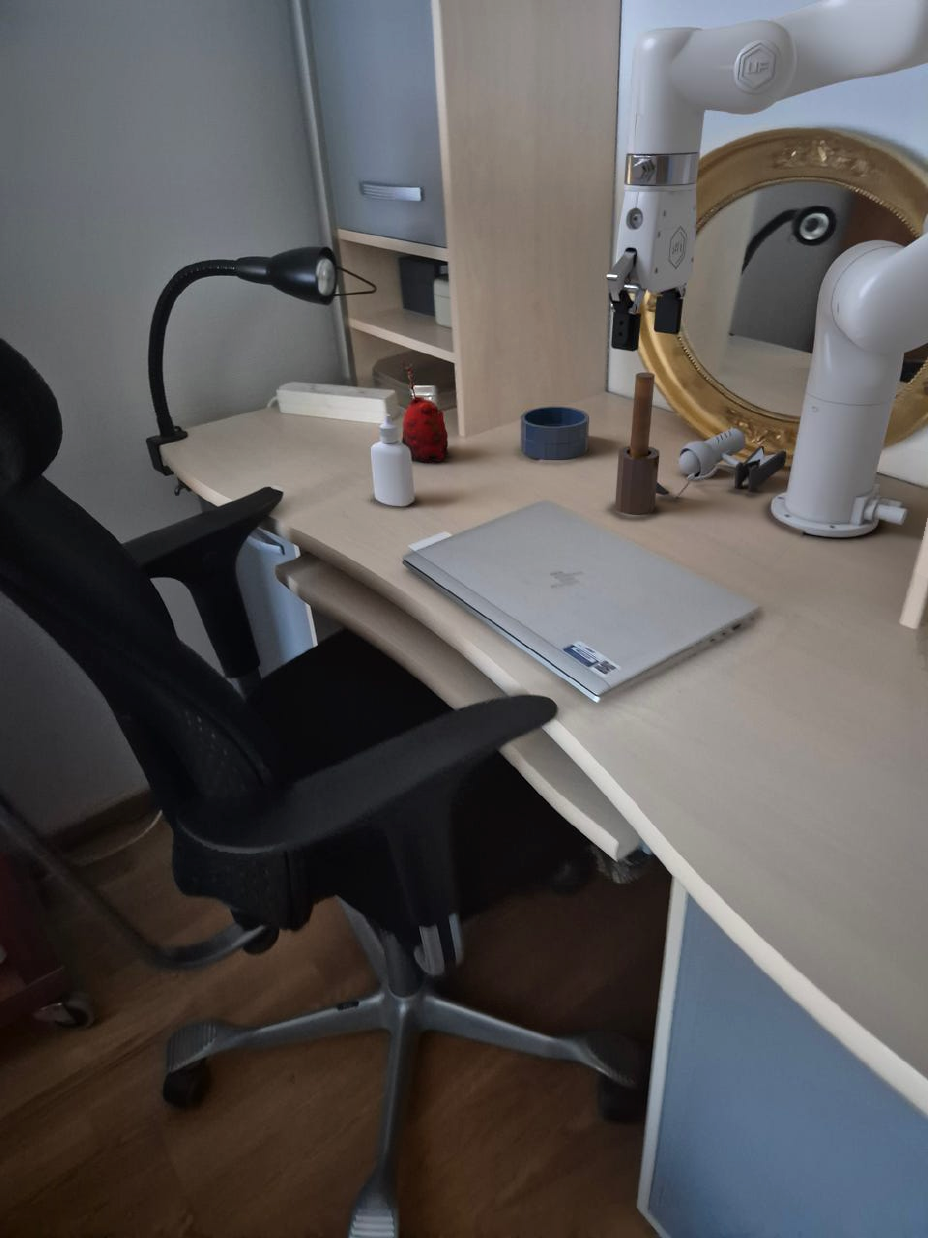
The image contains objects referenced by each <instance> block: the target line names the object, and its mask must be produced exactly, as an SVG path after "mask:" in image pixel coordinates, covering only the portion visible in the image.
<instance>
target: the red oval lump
mask: <svg viewBox="0 0 928 1238" xmlns="http://www.w3.org/2000/svg"><path fill="white" fill-rule="evenodd" d="M401 363H402V365H403V366H404V367H405V368H406V369H402V370H400V373H403V372H407V378H408V380H409V382H410V383H409V389H410V390H411V391H412V394H413V398H412V399H411V400H410V404H409V405H408V407H406V410H405V412H404V416H403V422H402V427H403V428H402V438H401V442H402V443H403V444H405V445H406V446H407V447H408V448H409V449H410V452H411V460H412V461H415V462H421V463H431V462H432V461H435V462H441V461H443V460H444V459H445V457H446V456H447V455H448V454H449V450H448V447H449V441H448V438H449V436H448V435H449V434H448V431H447V429H446V424H445V421H444V419H445V418H444V412H443V411H442V410H440V409H438V406H437V405H436V403H435V402H434V401H432V400H429V399H425V398H424V397H423V396H416V393H415V389H414V388H415V383H414V382H413V381H412V380H413V377H414V376H413V374H412V373H411V368H412V366H413V363H411V364H410V365H409V366H408V365H407V364H406V363H405V361H404V360H401Z"/></svg>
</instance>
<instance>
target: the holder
mask: <svg viewBox="0 0 928 1238" xmlns="http://www.w3.org/2000/svg"><path fill="white" fill-rule="evenodd" d="M630 447H631V445H627V446H623V447H621V448H620V449H618V458H617V470H616V487H615V498H614V499H615V501H614V508H615V509H616V510H617V511H618V512H620V513H623V514H625V515H631V516H641V515H648V514H650V513H652V512H653V511H654V510H655V508H656V497H657V496H656V495H657V493H656V487H657V482H658V476H659V464H660V450H658V449H657V448H655V447H653V446H649V447H648V456H643V457H637V456H631V455H630Z"/></svg>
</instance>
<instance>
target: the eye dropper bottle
mask: <svg viewBox="0 0 928 1238" xmlns="http://www.w3.org/2000/svg"><path fill="white" fill-rule="evenodd" d="M378 429H379V440H380V441H377V442H374V444H373V445H372V446H371V448H370V457H371V469H372V477H373V478H372V479H373V489H374V490H373V491H374V497H375V500H377V501H378V502H380V503H382V504H384V505H387V506H393V507H406V506H409V505H411V504H412V503H414V501H415V488H414V487H415V486H414V475H413V474H414V473H413V462H412V461H413V459H411V452H410V449H409V448H408V447H407V446H406V445H405V444H403V443H402V441H400V437H399V425H398V424H397V423H395V422H393V419H392V416H391V414H389V413H387V414H384V420H383V423H381V424H379V426H378Z"/></svg>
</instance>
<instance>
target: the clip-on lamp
mask: <svg viewBox="0 0 928 1238" xmlns="http://www.w3.org/2000/svg"><path fill="white" fill-rule="evenodd" d="M746 444H747V437H746V435H745V433H744V432H743V431H742V430H740V429H738V428H735V427H732V428H730V429H727V430H725V431H724V432H721V433H720V434H718V435H715V436H713V437H711V438H709V439H707V440H705V441H703V440H702V441H701V440H694V441H690V442H688V443H687V444H685V445H684V446H683V447H682V448H681V450H680V451H679V456H678V457H679V459H678V466H679V469H680V470H681V472H683V474H686V475H688V476H687V477H686V481H688V482H687V483H686V484H685V485H684V487H683V488H682V490H681V491H680V492H678V493H677V494H676V495H674V496H673V498H678V497H679V496H681V494H682V493H683V492H684V491H685V490H686V489H687V487H688V486H689V485H690V483H691V482H693V481H695V482H696V481H701V480H705V479H708V478H710V477H712V476H714V474H715V473H716V472H717V471H718V470H722V471H725V472H727V473H731V474H734V489H736V490H739V489H740V488H741V487H743V484H744V482H745V481H746V480H747V479H748V489H747V492H748V493H753V492H755V491H757V487H758V486H759V485H760V484H762V483H764V482H765V481H766V480H768V479H769V478H770V477H772V476H774V475H775V474H776V473H778V472H779V471H780V470H781V469H783V468H784V467H785V465H786V460H787V451H786V450H780V451H779V452H777V453H774V454H769V455H766V454H765V446H763V445H759V446H758V447H757V448H756V449H755V450H754V451H753V452H752V453H751V455H749V456H748V458H747V459H746V460H745V461H744V462H742V461H740V460H737V459H736V458H734V457H733V456H734V455H736V454H737V453H740V452H742V451H743V450H744V449H745V447H746ZM720 462H725V463H727V464H728V465H730V466H732V467H734V468H735V469H734V468H729V467H727V466H725V465H722V464H721V465H720V464H719V463H720ZM717 464H718V465H717ZM698 473H699V474H698ZM696 474H698V476H696ZM656 494H658V495H661V496H667V495H668V494H669V490H668V489H666V488H665V487H664V486H663V485H661V484H660V483H659V482H658V481H657V487H656Z"/></svg>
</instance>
